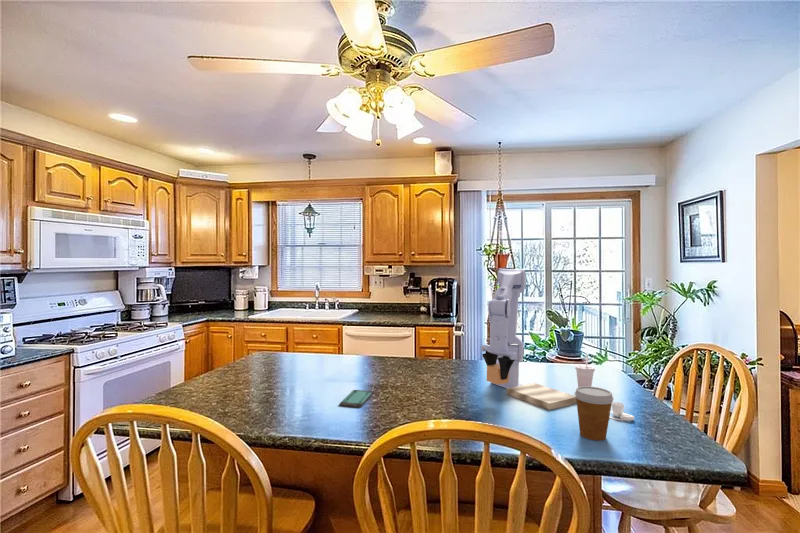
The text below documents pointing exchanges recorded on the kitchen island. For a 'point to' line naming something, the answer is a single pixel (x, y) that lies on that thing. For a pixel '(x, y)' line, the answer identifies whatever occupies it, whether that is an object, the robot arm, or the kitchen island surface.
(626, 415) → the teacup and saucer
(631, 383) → the kitchen island surface
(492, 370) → the block
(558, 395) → the base board
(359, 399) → the smartphone
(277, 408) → the kitchen island surface
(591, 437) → the disposable coffee cup
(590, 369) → the smoothie
